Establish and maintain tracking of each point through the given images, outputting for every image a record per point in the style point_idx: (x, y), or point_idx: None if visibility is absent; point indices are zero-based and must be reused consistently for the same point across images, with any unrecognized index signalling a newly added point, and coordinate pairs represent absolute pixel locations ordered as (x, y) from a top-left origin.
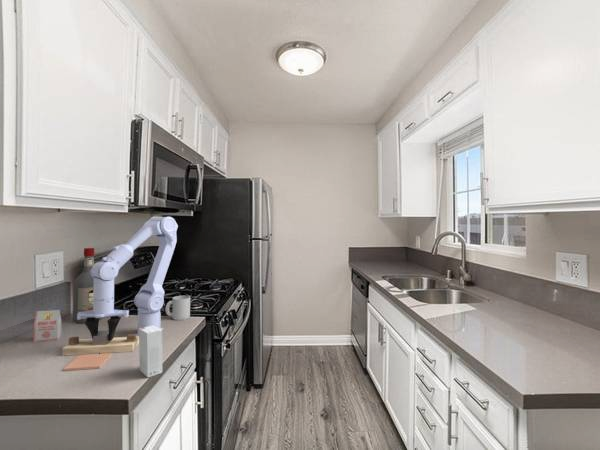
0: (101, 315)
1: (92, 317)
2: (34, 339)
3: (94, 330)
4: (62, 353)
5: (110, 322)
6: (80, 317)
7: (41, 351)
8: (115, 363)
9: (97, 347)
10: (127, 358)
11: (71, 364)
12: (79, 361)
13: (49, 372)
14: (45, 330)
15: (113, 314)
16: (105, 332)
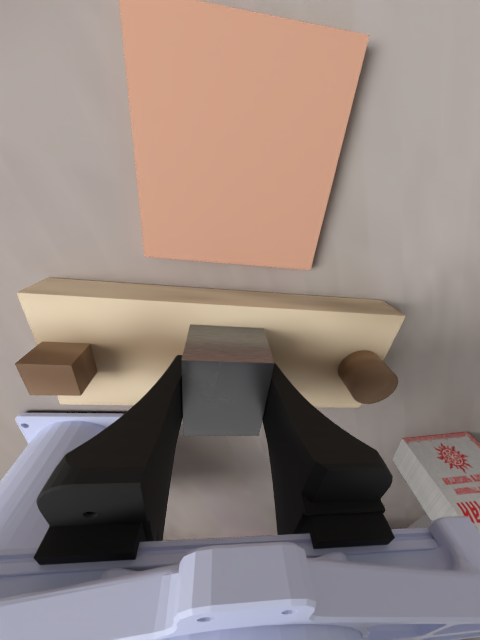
0: (189, 609)
1: (337, 544)
2: (472, 440)
3: (279, 409)
4: (387, 304)
5: (116, 459)
6: (458, 545)
7: (452, 359)
8: (49, 85)
9: (233, 303)
10: (13, 168)
11: (329, 117)
12: (291, 161)
13: (437, 48)
14: (470, 474)
15: (33, 618)
16: (213, 407)
